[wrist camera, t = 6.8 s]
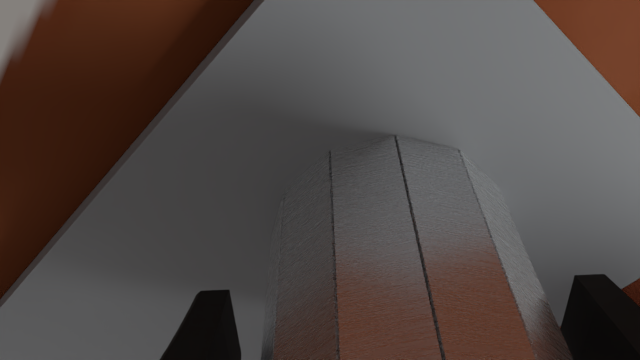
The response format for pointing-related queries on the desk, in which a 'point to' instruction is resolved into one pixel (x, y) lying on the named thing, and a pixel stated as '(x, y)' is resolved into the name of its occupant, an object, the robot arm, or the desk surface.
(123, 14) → the desk surface
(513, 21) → the duct board
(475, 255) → the collar
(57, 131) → the desk surface
